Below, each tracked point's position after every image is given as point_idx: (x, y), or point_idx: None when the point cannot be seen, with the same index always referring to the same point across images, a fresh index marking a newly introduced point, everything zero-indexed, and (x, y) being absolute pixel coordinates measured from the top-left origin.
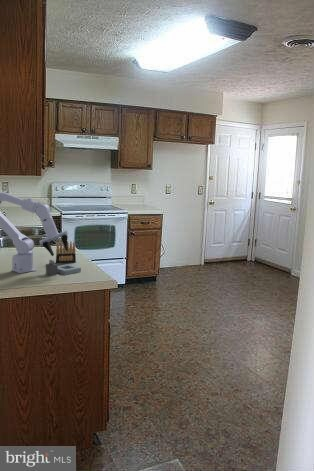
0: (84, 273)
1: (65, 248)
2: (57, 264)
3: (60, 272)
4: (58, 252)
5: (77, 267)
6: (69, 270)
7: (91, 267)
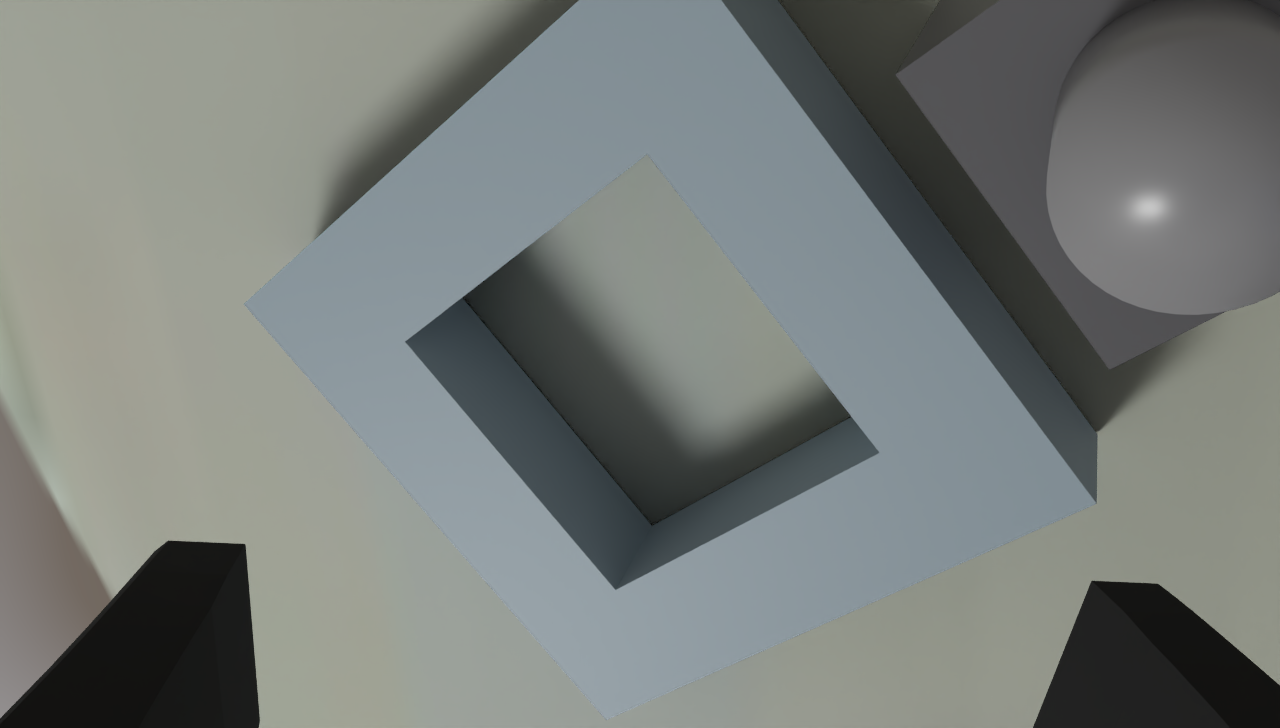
0: (188, 55)
1: (176, 625)
2: (902, 66)
3: (844, 106)
4: None
5: (337, 341)
6: (525, 53)
7: None
